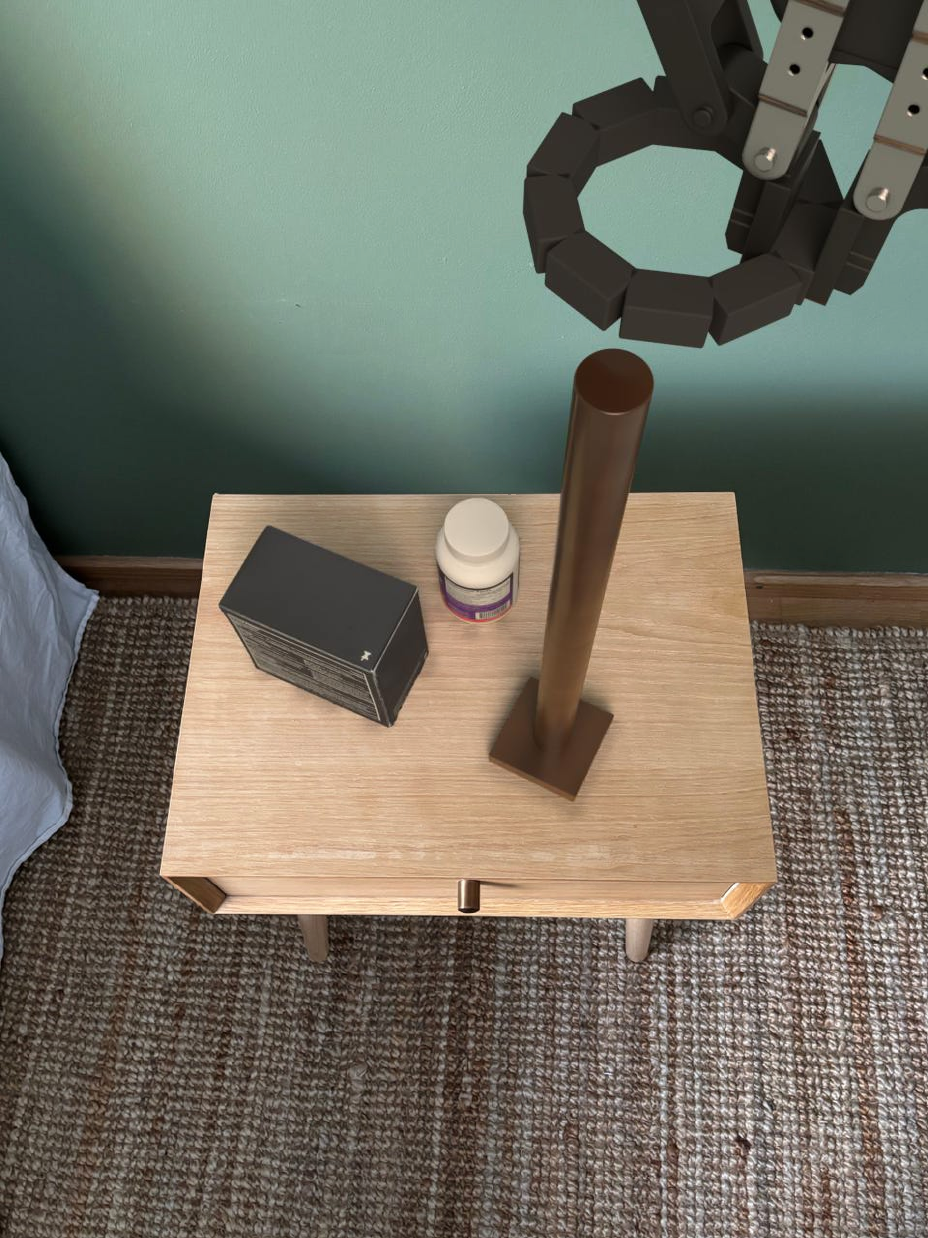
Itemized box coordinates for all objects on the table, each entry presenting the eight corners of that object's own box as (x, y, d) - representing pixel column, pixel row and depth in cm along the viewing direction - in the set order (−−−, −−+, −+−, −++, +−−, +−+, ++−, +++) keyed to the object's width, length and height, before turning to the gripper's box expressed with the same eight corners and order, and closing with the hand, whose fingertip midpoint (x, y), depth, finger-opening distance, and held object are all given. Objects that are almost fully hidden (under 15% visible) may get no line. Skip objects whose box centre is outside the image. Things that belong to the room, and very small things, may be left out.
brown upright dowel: (612, 721, 68) (745, 341, 31) (573, 802, 66) (668, 498, 29) (529, 682, 69) (565, 273, 32) (489, 761, 67) (478, 419, 30)
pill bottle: (456, 546, 73) (451, 475, 64) (529, 569, 72) (533, 501, 63) (428, 612, 71) (418, 549, 62) (502, 637, 70) (503, 577, 61)
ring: (868, 170, 31) (884, 132, 30) (757, 394, 28) (770, 363, 27) (604, 77, 33) (608, 38, 32) (473, 280, 30) (472, 246, 29)
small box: (434, 647, 70) (424, 582, 60) (392, 731, 68) (374, 679, 58) (298, 588, 72) (267, 517, 62) (252, 669, 70) (212, 608, 60)
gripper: (1719, -645, 14) (1060, 260, 30) (764, -801, 17) (629, 106, 33) (1674, -359, 11) (982, 461, 27) (561, -597, 14) (522, 276, 30)
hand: (791, 266), depth 30 cm, fingers closed on ring, 1 cm apart
